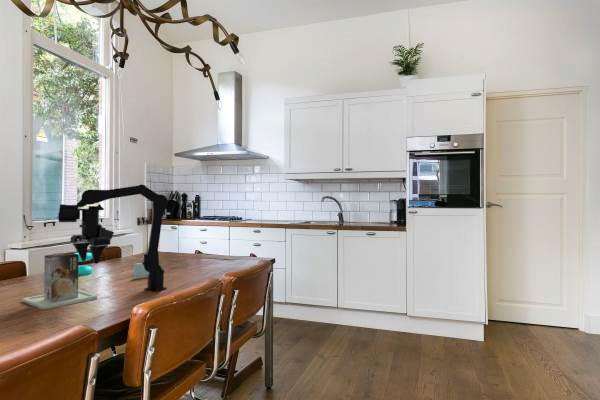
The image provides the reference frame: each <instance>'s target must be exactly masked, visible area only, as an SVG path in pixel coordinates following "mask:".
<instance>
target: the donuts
mask: <svg viewBox="0 0 600 400" xmlns="http://www.w3.org/2000/svg"><path fill="white" fill-rule="evenodd" d="M74 254H78V252H74ZM92 259H93V257H92V254H91V252H88V251H87V256H86V261H85V262H87V261H88V262H89V261H90V260H92ZM79 262H83V261H82V259H81V257H80V255H79V254H78V263H79ZM93 271H94V269H93V267H92V266H90V265H78V276H85V275H90V274H92V273H93Z"/></svg>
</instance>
